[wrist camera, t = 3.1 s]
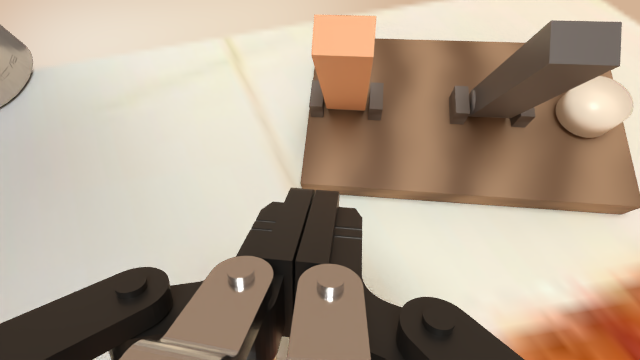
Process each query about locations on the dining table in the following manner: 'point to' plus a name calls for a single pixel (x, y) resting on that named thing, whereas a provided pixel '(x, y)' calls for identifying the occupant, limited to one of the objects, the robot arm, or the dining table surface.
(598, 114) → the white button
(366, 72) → the orange block
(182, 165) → the dining table surface
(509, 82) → the long grey beam
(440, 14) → the dining table surface
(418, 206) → the dining table surface
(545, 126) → the switch board
